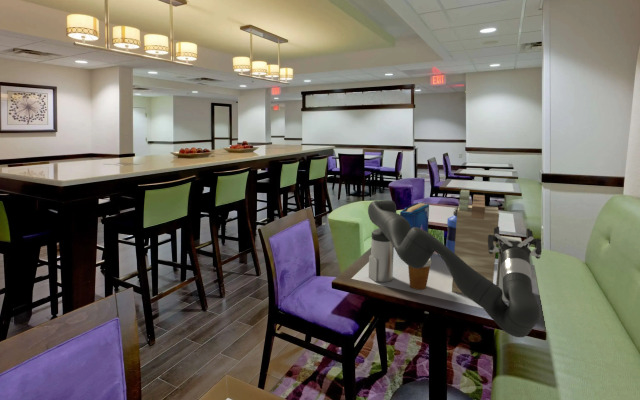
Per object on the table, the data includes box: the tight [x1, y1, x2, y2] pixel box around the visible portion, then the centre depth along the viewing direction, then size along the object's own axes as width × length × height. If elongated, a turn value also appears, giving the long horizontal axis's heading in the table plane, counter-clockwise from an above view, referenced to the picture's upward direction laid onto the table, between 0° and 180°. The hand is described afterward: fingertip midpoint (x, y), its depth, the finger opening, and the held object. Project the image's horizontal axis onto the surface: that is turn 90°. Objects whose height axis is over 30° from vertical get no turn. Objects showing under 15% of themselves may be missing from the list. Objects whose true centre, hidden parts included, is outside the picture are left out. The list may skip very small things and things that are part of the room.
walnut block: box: [471, 194, 486, 219], centre depth 137 cm, size 26×4×4 cm, turn 157°
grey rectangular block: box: [495, 235, 523, 303], centre depth 139 cm, size 15×7×20 cm, turn 157°
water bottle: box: [445, 206, 459, 253], centre depth 181 cm, size 9×9×25 cm
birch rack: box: [451, 189, 500, 295], centre depth 143 cm, size 14×14×39 cm
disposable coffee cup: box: [407, 257, 433, 291], centre depth 147 cm, size 10×10×12 cm
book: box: [399, 202, 430, 233], centre depth 183 cm, size 22×7×25 cm, turn 143°
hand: (512, 229), depth 116 cm, fingers open, 8 cm apart
